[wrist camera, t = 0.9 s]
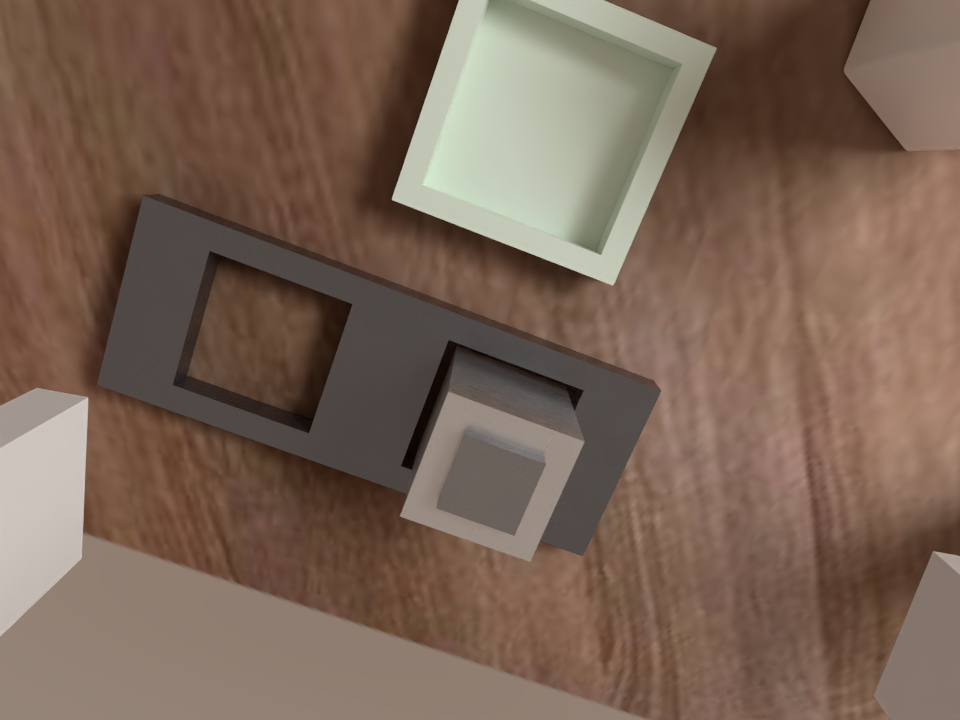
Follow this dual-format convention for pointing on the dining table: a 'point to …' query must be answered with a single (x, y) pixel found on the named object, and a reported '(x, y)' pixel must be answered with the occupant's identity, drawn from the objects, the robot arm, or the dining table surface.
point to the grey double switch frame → (349, 362)
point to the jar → (911, 70)
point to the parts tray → (552, 126)
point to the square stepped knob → (493, 455)
